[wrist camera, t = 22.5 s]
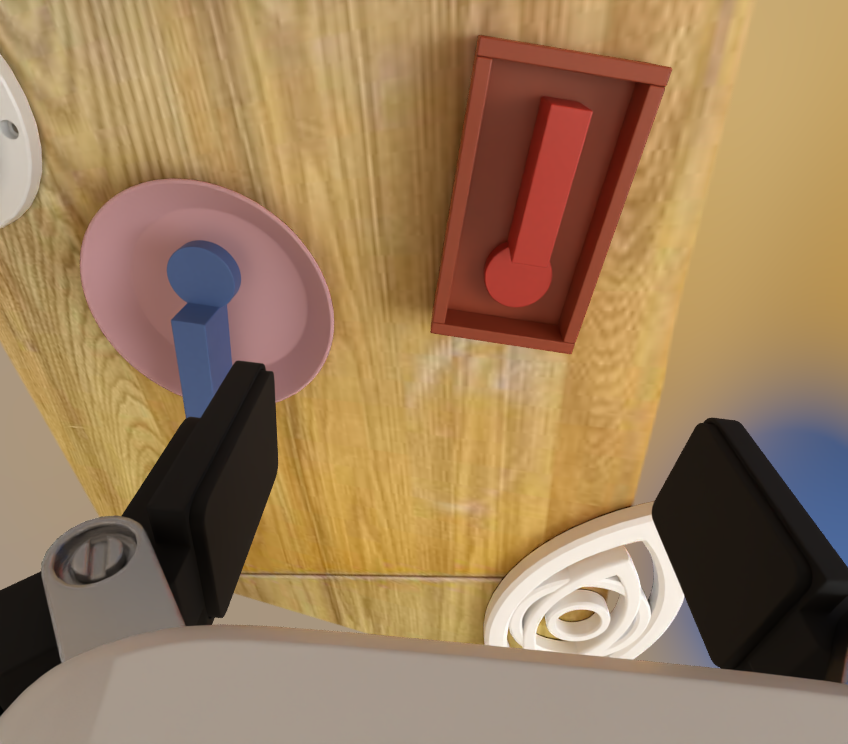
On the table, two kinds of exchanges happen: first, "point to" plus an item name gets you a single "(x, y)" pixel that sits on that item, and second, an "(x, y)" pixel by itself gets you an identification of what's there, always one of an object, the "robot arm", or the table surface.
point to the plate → (158, 303)
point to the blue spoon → (202, 319)
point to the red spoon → (539, 204)
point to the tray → (502, 174)
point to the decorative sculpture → (588, 567)
